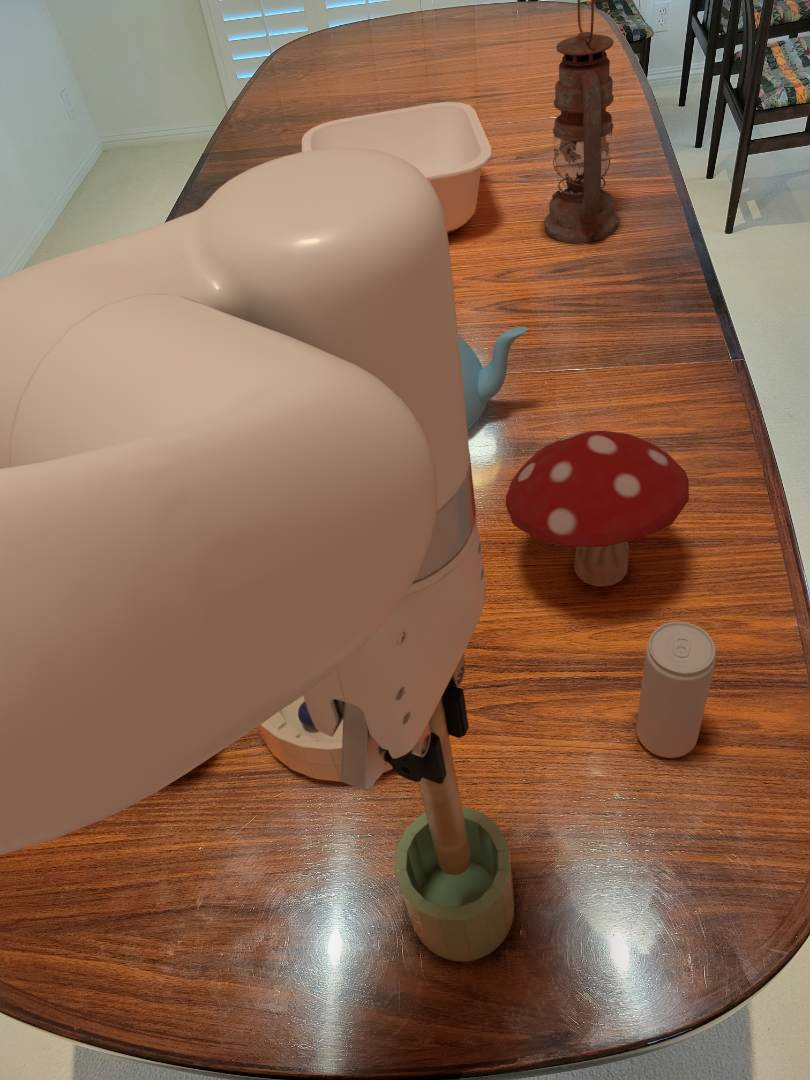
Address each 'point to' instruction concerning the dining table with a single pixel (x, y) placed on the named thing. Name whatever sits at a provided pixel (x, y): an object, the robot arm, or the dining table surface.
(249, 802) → the dining table surface
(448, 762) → the stick
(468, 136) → the white plastic rectangular tub
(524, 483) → the decorative mushroom
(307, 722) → the berry
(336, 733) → the bowl
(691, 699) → the beverage can
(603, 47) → the lantern
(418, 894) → the crock
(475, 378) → the teapot
